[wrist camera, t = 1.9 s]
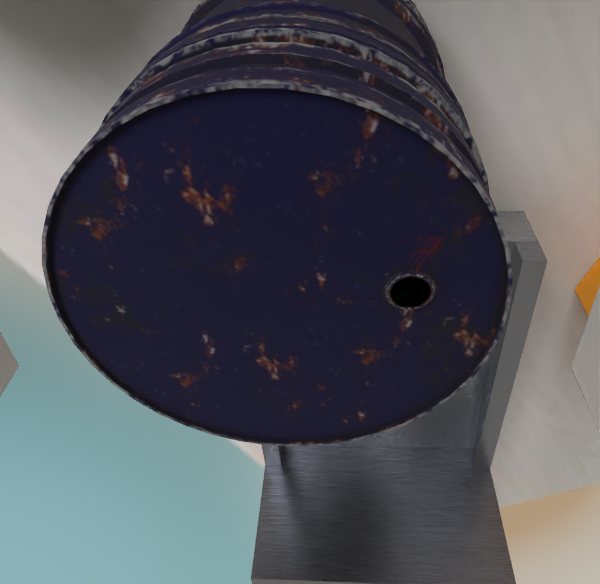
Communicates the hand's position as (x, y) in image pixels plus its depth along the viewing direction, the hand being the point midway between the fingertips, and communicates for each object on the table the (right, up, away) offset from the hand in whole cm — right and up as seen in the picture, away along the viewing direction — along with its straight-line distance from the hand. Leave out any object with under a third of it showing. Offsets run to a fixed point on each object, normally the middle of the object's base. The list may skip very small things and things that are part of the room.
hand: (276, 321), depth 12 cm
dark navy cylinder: (+1, +10, +11) cm, 15 cm away
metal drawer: (+5, -2, +21) cm, 21 cm away
